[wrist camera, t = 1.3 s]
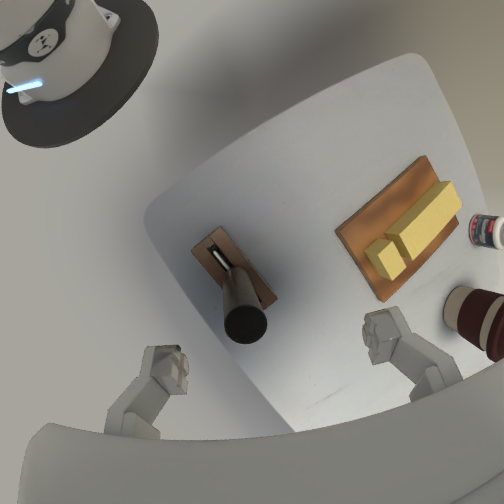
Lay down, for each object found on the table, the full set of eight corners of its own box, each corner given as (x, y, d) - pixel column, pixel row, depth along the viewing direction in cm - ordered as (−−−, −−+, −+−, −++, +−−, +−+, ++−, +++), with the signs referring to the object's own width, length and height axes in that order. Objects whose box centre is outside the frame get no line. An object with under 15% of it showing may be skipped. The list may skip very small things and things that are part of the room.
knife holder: (193, 247, 33) (190, 251, 29) (220, 225, 33) (220, 226, 29) (246, 310, 34) (249, 321, 31) (272, 290, 34) (278, 299, 31)
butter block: (384, 232, 33) (399, 234, 30) (435, 182, 33) (451, 180, 30) (397, 256, 34) (413, 260, 31) (446, 205, 34) (462, 205, 30)
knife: (206, 253, 33) (190, 295, 16) (223, 239, 33) (225, 267, 16) (243, 298, 34) (263, 373, 17) (260, 284, 34) (296, 350, 17)
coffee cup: (436, 288, 37) (506, 316, 22) (473, 270, 38) (537, 289, 23) (436, 341, 39) (494, 379, 24) (471, 320, 39) (527, 348, 25)
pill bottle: (468, 213, 36) (507, 216, 28) (484, 215, 37) (521, 218, 28) (467, 245, 37) (505, 252, 28) (483, 245, 38) (519, 252, 29)
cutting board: (334, 230, 34) (339, 231, 33) (419, 156, 34) (425, 155, 33) (378, 300, 36) (384, 303, 35) (453, 223, 36) (459, 223, 35)
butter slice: (363, 250, 33) (377, 255, 30) (377, 238, 33) (392, 240, 30) (378, 274, 34) (392, 281, 31) (391, 262, 34) (406, 267, 31)
